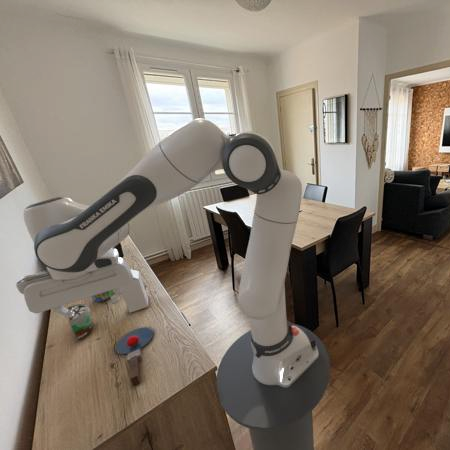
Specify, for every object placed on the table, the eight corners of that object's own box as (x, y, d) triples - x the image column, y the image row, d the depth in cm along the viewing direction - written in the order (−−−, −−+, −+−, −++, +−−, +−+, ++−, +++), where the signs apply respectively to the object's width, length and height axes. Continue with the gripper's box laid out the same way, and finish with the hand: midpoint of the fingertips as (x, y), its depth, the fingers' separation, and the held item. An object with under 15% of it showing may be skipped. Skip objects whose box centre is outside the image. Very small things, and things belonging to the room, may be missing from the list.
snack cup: (125, 294, 117) (118, 276, 113) (102, 308, 108) (93, 289, 104) (106, 288, 123) (99, 271, 119) (82, 300, 114) (74, 282, 110)
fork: (143, 380, 75) (140, 374, 74) (129, 387, 73) (126, 380, 72) (141, 350, 85) (139, 344, 84) (129, 356, 83) (127, 349, 82)
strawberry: (137, 337, 85) (140, 345, 87) (136, 331, 88) (139, 339, 90) (125, 343, 83) (129, 350, 85) (124, 336, 86) (128, 344, 87)
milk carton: (148, 298, 113) (136, 263, 106) (148, 306, 107) (135, 270, 100) (130, 304, 110) (116, 268, 103) (129, 313, 104) (115, 276, 97)
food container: (99, 333, 94) (89, 313, 90) (78, 342, 90) (68, 322, 87) (95, 317, 102) (86, 298, 99) (76, 325, 99) (67, 306, 95)
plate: (152, 324, 97) (151, 322, 97) (154, 343, 88) (154, 342, 88) (116, 338, 91) (116, 337, 91) (115, 360, 82) (114, 359, 82)
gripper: (6, 286, 50) (36, 335, 55) (123, 255, 61) (139, 300, 66) (17, 273, 55) (44, 319, 60) (123, 247, 66) (138, 288, 71)
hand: (94, 309), depth 63 cm, fingers open, 8 cm apart
